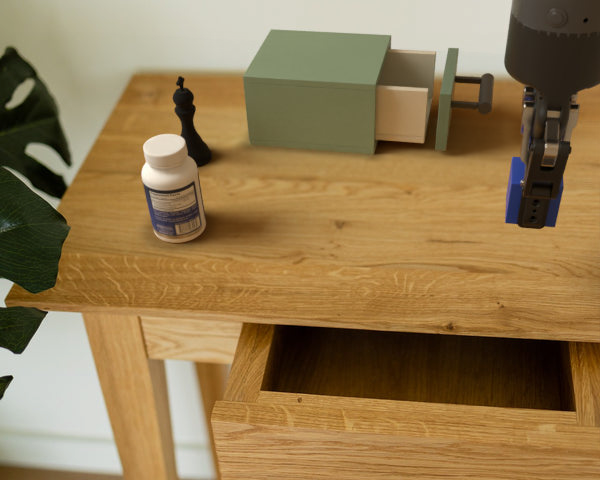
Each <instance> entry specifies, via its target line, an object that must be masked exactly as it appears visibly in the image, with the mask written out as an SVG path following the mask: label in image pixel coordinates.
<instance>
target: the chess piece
mask: <svg viewBox="0 0 600 480" xmlns="http://www.w3.org/2000/svg"><path fill="white" fill-rule="evenodd" d="M184 83H185V77H183V76H182V75H179V76H178V78H177V81H176V82H175V85H176V86H177V87H178V88H177V89H175V91H174V93H173V94H172V101H173V103H174V105H175V107H174V113H175V115H176V116H177V118H178V119H179V121H180V125H181V130H180V131H181V132H180V136H181V137H182V138H184V140H185V142H186V147H187V151H188V156H189V157H191V158H192V159H193V160H194V161H195V163H196V165H197V168H199V167H203V166H205V165H206V164H208V163H209V162H210V161H211V160H212V158H213V153H212V151H211V149H210V148H209V146H208V144H207V143H206V142H205V141H204V140H203V139H202V137H201V135H200V134H199V132H198V131H197V129H196V126H195V124H194V118H195V114H196V111H197V108H196V105H195V104H194V100H195V95H194V93H193V92H192V90H190V89H189V88H188V87H185V86H184V85H185V84H184Z"/></svg>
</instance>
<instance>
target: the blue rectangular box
mask: <svg viewBox="0 0 600 480" xmlns="http://www.w3.org/2000/svg"><path fill="white" fill-rule="evenodd" d="M524 168H525V163H523V162H522V161H521V159H520V156H512V157H511V162H510V169H509V174H508V182H507V187H506V194H505V196H506V197H505V213H504V215H505V216H504V217H505V218H504V223H505V224H511V225H518V224H517V217H518V211H519V205H520V199H521V194H522V192H521V190H522V186H520V184H521V179H522V180H523V174H524ZM564 185H565V184H564V177H563V178H562V181H561V184H560V191H559V195H557V198H556V199H550V204H549V209H548V214H547V219H546V224H545V226H544V227H543V228H545V227H546V228H555V227H556V225H557V220H558V216H559V211H560V206H561V202H562V197H563V194H564V193H563V192H564V189H565V186H564Z"/></svg>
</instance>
